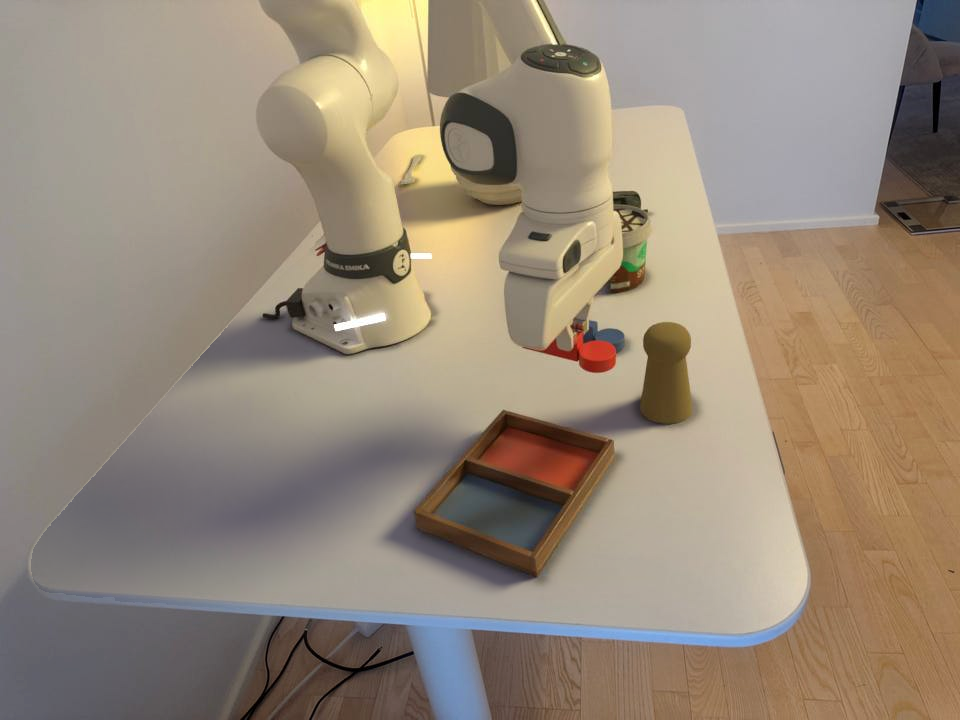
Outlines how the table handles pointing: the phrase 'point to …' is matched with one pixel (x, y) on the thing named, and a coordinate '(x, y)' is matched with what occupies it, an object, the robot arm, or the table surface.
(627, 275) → the food container
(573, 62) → the robot arm
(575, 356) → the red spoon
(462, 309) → the table surface
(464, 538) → the sorting tray
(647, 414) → the brown game pawn
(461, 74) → the table lamp
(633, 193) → the mobile phone
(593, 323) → the blue block with disc
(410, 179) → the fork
